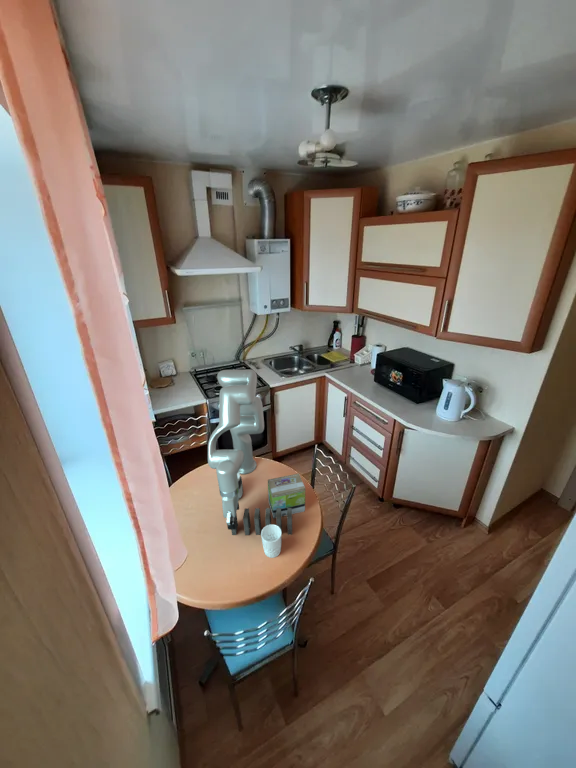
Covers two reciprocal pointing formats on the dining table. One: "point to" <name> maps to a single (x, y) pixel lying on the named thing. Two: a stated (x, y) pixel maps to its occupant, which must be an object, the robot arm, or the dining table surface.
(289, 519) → the tile
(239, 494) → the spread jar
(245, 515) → the tile
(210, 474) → the dining table surface
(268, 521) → the tile
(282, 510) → the tea box
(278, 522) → the tile
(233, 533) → the tile
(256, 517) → the tile
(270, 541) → the white cup
